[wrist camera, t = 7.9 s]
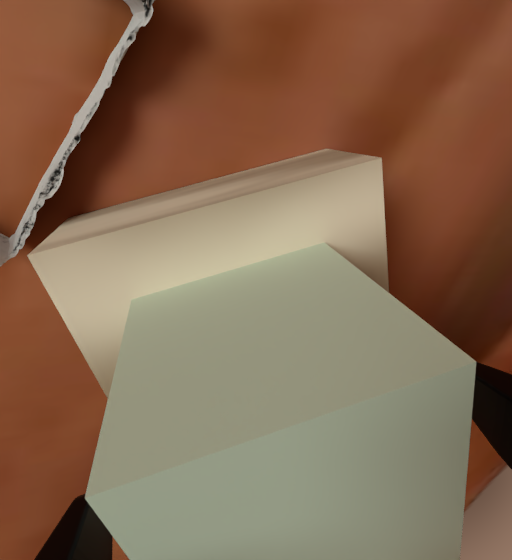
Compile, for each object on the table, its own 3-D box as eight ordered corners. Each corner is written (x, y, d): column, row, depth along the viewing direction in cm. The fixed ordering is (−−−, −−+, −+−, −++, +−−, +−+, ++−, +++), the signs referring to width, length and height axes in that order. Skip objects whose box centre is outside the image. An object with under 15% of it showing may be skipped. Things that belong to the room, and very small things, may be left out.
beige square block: (351, 349, 18) (395, 405, 14) (161, 411, 17) (158, 488, 13) (326, 148, 14) (381, 157, 10) (68, 217, 13) (27, 255, 9)
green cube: (344, 385, 13) (459, 561, 8) (193, 437, 13) (207, 664, 7) (324, 242, 11) (476, 361, 5) (131, 299, 10) (85, 498, 5)
